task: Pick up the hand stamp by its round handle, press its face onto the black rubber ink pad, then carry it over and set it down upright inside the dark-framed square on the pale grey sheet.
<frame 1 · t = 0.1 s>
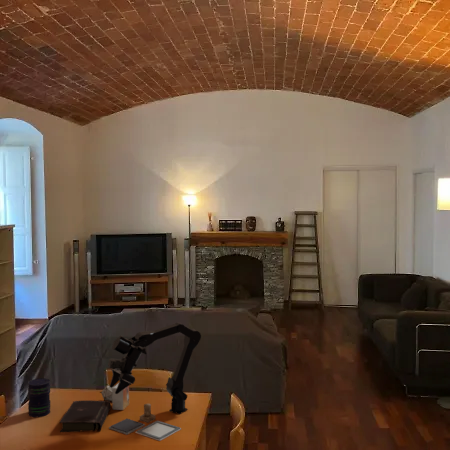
hand: (113, 390, 235), 15 cm above the table, tool tilted 35°, fingers open, 9 cm apart
stamp: (147, 419, 239), on the table
game die: (109, 401, 262), on the table
storage jar: (39, 413, 247), on the table
ink pad: (126, 427, 231), on the table
diary: (85, 421, 239), on the table
small box: (120, 407, 254), on the table
print sheet: (158, 430, 228), on the table
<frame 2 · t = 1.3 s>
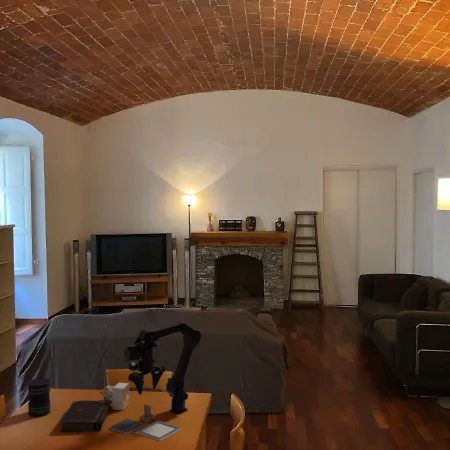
hand: (147, 391, 239), 13 cm above the table, tool pointing down, fingers open, 9 cm apart
nothing on the table moved.
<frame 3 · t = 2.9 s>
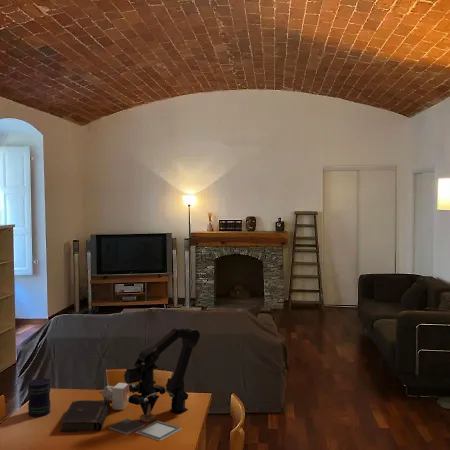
hand: (147, 413, 239), 3 cm above the table, tool pointing down, fingers closed on stamp, 3 cm apart
stamp: (147, 419, 239), on the table, touching gripper
everything else where it was.
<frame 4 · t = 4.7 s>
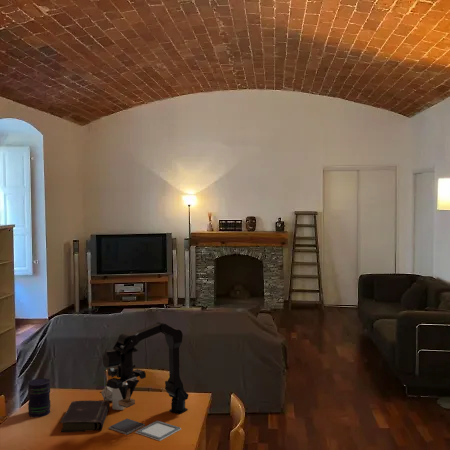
hand: (126, 398, 231), 13 cm above the table, tool pointing down, fingers closed on stamp, 3 cm apart
stamp: (126, 404, 231), point 10 cm above the table, touching gripper
everything else where it was.
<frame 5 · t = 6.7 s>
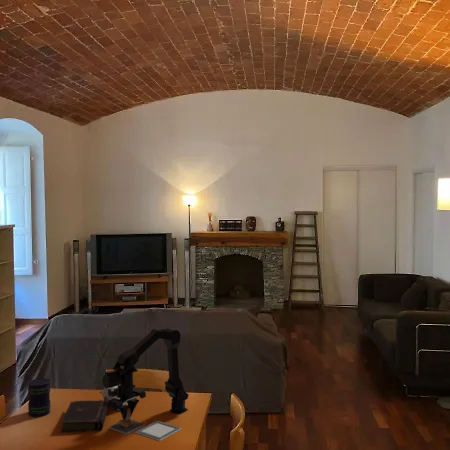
hand: (127, 418, 231), 4 cm above the table, tool pointing down, fingers closed on stamp, 3 cm apart
stamp: (127, 424, 231), point 1 cm above the table, touching gripper
everything else where it was.
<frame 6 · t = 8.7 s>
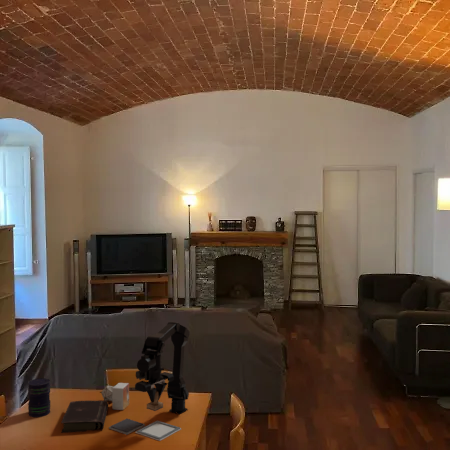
hand: (155, 401, 227), 13 cm above the table, tool pointing down, fingers closed on stamp, 3 cm apart
stamp: (155, 407, 228), point 10 cm above the table, touching gripper
everything else where it was.
when the fingers open (4 cm above the table, at t = 10.6 s): stamp drops 1 cm, resting on print sheet.
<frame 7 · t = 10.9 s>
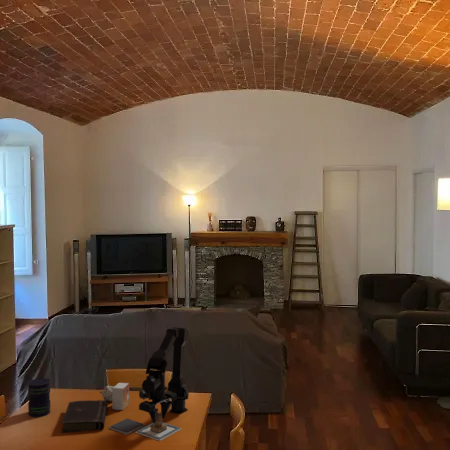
hand: (158, 420, 227), 4 cm above the table, tool pointing down, fingers open, 6 cm apart
stamp: (158, 430, 228), resting on print sheet
everything else where it was.
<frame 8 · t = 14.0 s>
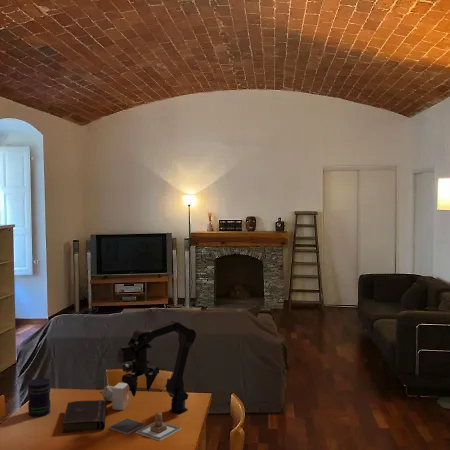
hand: (141, 393, 237), 13 cm above the table, tool pointing down, fingers open, 9 cm apart
at the end: stamp inside the target area on the print sheet (0.1 cm from its centre), point 0.3 cm above the print sheet's base; stamp tilted 0°; the gripper is holding nothing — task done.
